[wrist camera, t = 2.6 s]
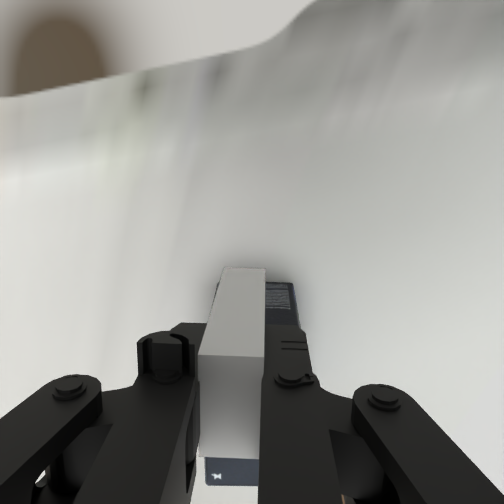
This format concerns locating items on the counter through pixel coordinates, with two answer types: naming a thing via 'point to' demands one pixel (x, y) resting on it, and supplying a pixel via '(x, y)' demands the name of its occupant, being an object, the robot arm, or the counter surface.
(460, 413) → the counter surface
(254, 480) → the small box
